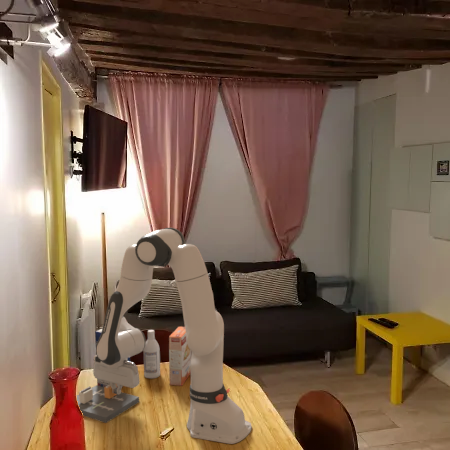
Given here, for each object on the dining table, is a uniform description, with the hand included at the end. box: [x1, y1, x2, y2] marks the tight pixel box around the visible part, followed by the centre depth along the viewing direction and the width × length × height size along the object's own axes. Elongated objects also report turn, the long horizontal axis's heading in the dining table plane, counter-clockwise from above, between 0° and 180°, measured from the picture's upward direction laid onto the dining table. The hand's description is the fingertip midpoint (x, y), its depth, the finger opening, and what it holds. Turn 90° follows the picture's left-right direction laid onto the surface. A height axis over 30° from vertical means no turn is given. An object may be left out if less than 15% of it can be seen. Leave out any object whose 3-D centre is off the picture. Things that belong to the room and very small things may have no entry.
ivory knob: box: [78, 386, 93, 404], centre depth 182 cm, size 2×4×5 cm, turn 150°
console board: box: [76, 384, 140, 424], centre depth 184 cm, size 22×18×2 cm
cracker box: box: [168, 326, 192, 387], centre depth 206 cm, size 14×6×21 cm, turn 168°
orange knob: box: [104, 384, 117, 399], centre depth 186 cm, size 2×4×5 cm, turn 150°
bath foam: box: [142, 329, 161, 379], centre depth 210 cm, size 7×7×20 cm
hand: (116, 393), depth 185 cm, fingers closed
